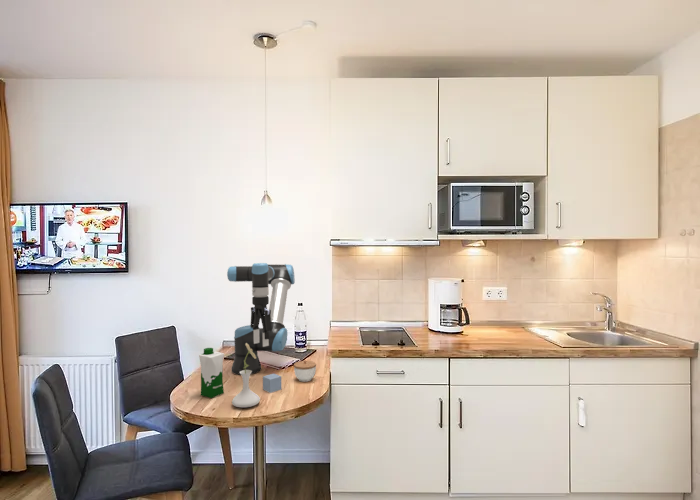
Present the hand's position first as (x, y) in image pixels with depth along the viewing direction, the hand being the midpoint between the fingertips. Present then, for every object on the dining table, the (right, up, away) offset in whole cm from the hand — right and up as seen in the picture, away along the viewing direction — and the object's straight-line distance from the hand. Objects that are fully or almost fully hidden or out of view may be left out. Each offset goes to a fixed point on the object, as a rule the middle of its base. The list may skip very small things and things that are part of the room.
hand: (261, 344), depth 194 cm
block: (+6, -19, -6) cm, 21 cm away
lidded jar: (+20, -19, +7) cm, 29 cm away
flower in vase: (-1, -20, -22) cm, 30 cm away
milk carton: (-19, -20, -11) cm, 30 cm away
